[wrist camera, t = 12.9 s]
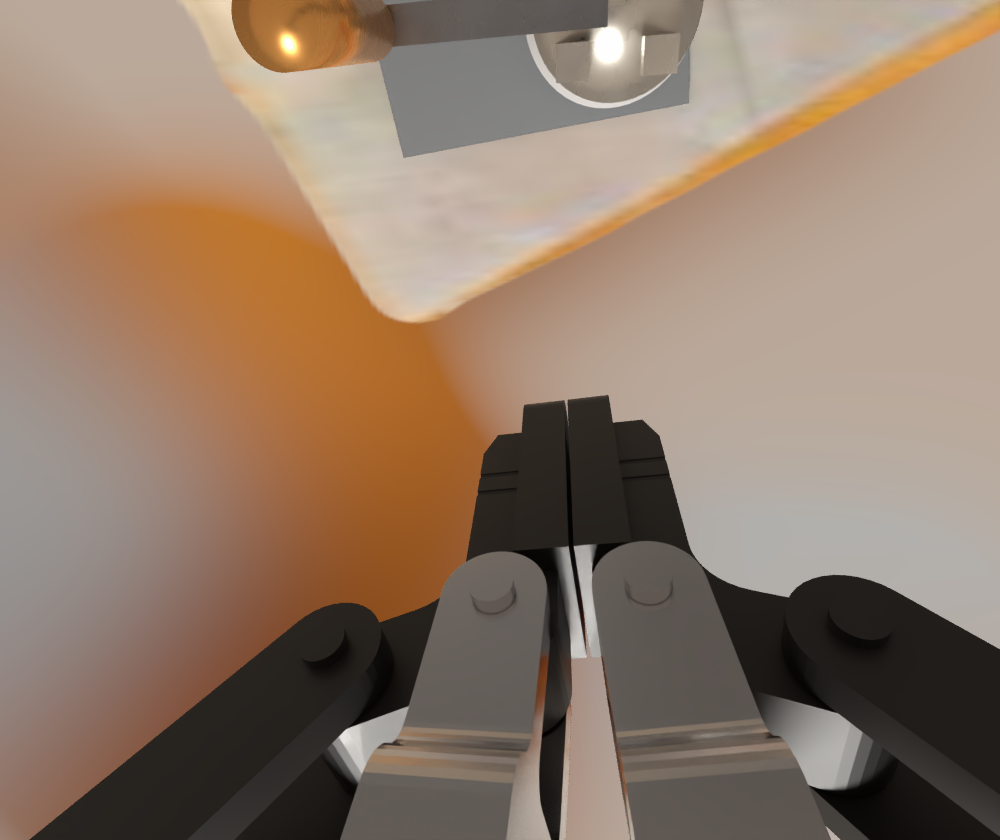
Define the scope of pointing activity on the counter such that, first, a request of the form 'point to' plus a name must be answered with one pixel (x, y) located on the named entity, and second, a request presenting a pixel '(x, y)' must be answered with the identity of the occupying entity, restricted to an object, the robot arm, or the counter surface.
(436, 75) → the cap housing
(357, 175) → the counter surface
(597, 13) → the hub and bar
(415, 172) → the counter surface
